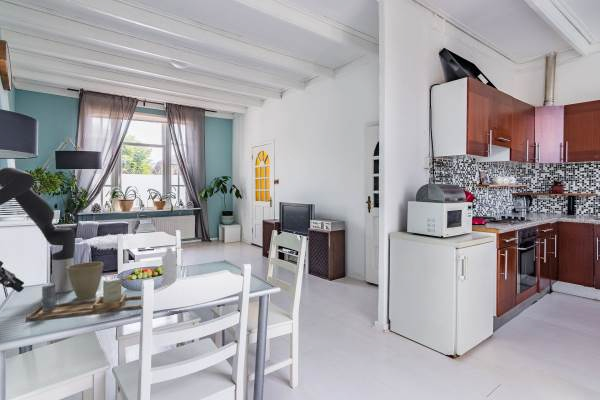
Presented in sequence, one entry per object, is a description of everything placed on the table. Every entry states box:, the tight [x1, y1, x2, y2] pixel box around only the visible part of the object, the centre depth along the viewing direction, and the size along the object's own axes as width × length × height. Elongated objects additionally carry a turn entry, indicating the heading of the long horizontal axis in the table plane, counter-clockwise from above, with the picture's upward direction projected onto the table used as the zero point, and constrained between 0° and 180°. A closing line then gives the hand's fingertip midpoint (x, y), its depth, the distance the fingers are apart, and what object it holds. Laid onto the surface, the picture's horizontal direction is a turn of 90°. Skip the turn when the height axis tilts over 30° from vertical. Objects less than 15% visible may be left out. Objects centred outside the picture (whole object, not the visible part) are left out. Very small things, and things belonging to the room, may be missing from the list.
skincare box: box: [102, 277, 122, 303], centre depth 143 cm, size 6×4×12 cm
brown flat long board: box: [25, 294, 142, 322], centre depth 141 cm, size 44×15×2 cm, turn 111°
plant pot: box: [67, 261, 104, 300], centre depth 156 cm, size 15×15×16 cm
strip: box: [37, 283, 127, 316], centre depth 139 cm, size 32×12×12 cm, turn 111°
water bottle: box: [161, 245, 180, 287], centre depth 155 cm, size 9×6×25 cm
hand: (22, 287), depth 129 cm, fingers open, 8 cm apart
